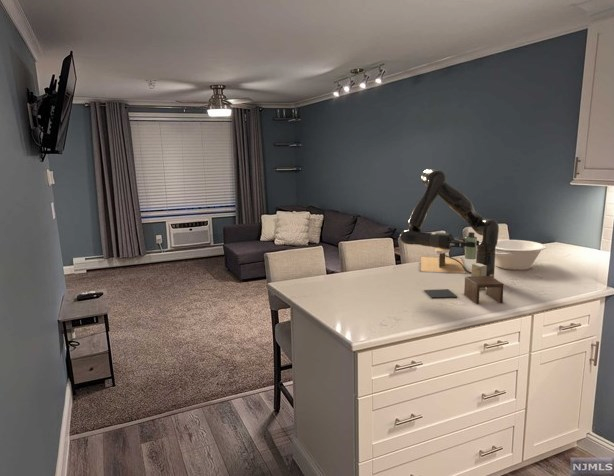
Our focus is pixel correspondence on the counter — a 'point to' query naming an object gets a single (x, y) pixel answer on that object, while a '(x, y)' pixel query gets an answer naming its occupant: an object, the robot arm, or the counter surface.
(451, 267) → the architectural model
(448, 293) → the mat
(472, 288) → the shelf
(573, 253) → the counter surface
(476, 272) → the cosmetic box
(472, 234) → the bottle
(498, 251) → the white wash basin
